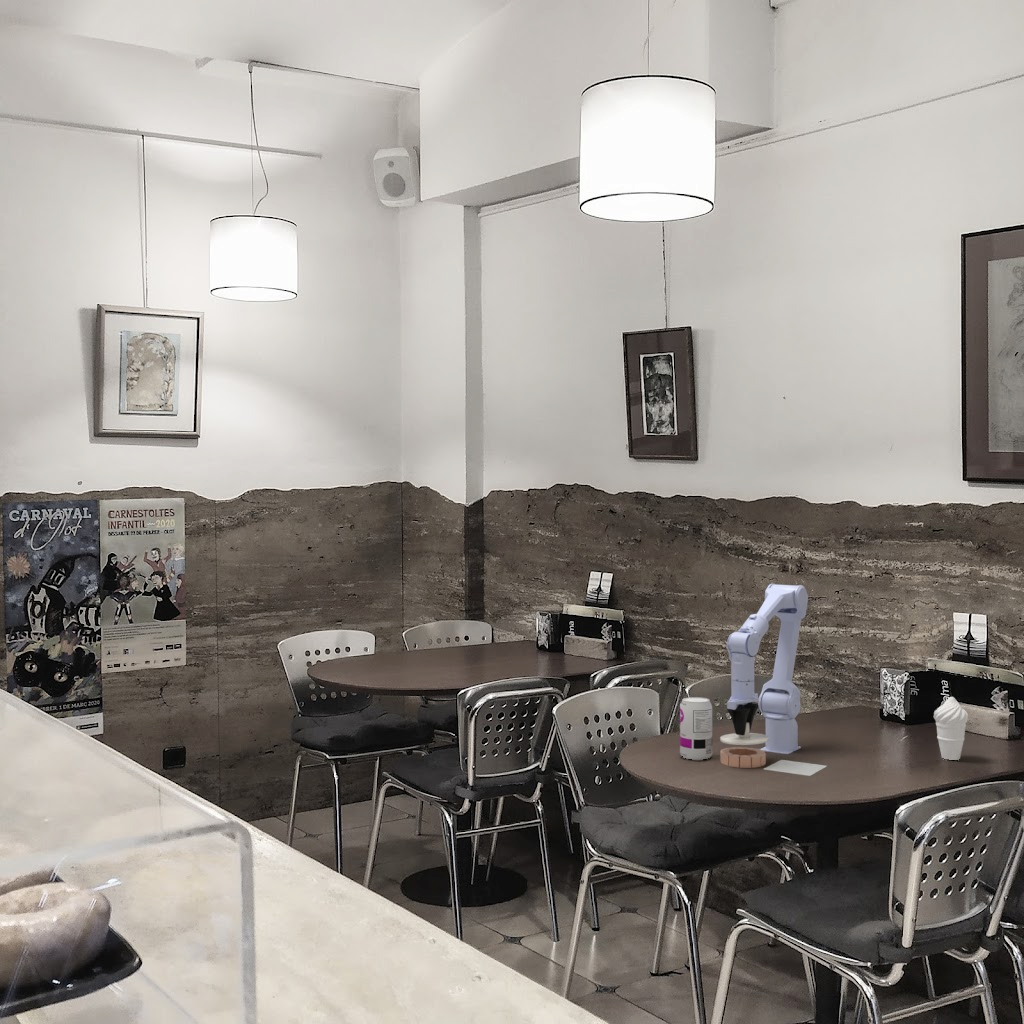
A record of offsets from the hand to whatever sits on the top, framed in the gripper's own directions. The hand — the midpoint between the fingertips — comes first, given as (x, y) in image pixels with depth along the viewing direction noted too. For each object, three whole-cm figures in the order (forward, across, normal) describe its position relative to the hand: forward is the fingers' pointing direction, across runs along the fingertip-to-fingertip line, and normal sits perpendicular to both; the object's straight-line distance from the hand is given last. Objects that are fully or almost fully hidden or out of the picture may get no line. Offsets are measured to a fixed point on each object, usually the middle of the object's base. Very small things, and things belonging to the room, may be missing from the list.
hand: (742, 733), depth 293 cm
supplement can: (+8, 0, +13) cm, 15 cm away
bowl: (+8, 0, 0) cm, 8 cm away
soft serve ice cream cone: (+8, +34, -42) cm, 55 cm away
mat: (+8, +2, -13) cm, 15 cm away
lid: (+2, 0, 0) cm, 2 cm away
